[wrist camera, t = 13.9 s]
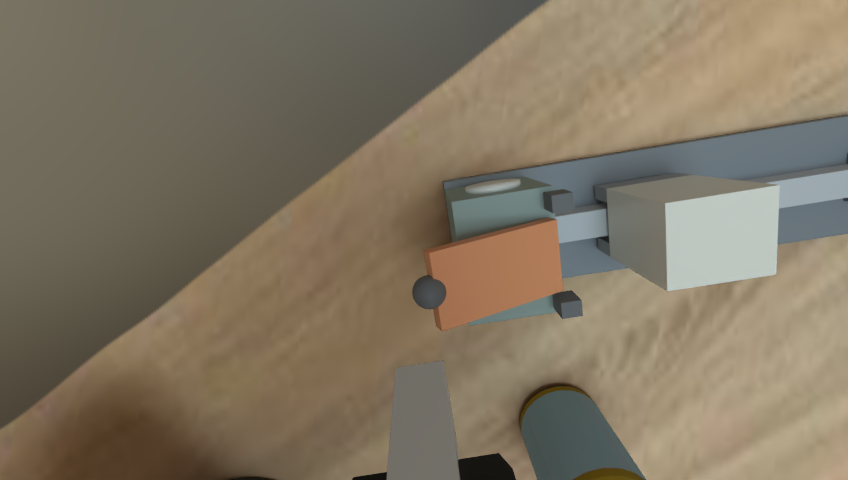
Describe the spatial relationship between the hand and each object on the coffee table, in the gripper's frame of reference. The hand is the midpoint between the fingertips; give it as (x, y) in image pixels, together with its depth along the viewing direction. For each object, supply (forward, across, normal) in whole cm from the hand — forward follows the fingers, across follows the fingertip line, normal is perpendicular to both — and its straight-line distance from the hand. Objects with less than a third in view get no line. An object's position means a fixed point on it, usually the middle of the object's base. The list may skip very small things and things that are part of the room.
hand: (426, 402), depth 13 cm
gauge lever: (+12, +8, 0) cm, 15 cm away
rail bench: (+20, +19, 0) cm, 28 cm away
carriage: (+19, +17, 0) cm, 25 cm away
